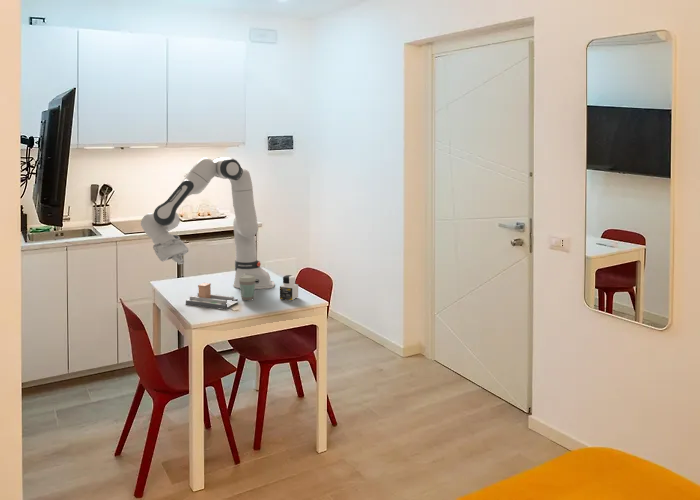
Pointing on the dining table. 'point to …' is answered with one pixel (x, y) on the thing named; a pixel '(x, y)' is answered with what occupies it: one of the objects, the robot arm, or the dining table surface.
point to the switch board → (210, 301)
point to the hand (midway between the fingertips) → (181, 263)
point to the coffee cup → (247, 286)
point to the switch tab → (205, 290)
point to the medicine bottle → (288, 288)
